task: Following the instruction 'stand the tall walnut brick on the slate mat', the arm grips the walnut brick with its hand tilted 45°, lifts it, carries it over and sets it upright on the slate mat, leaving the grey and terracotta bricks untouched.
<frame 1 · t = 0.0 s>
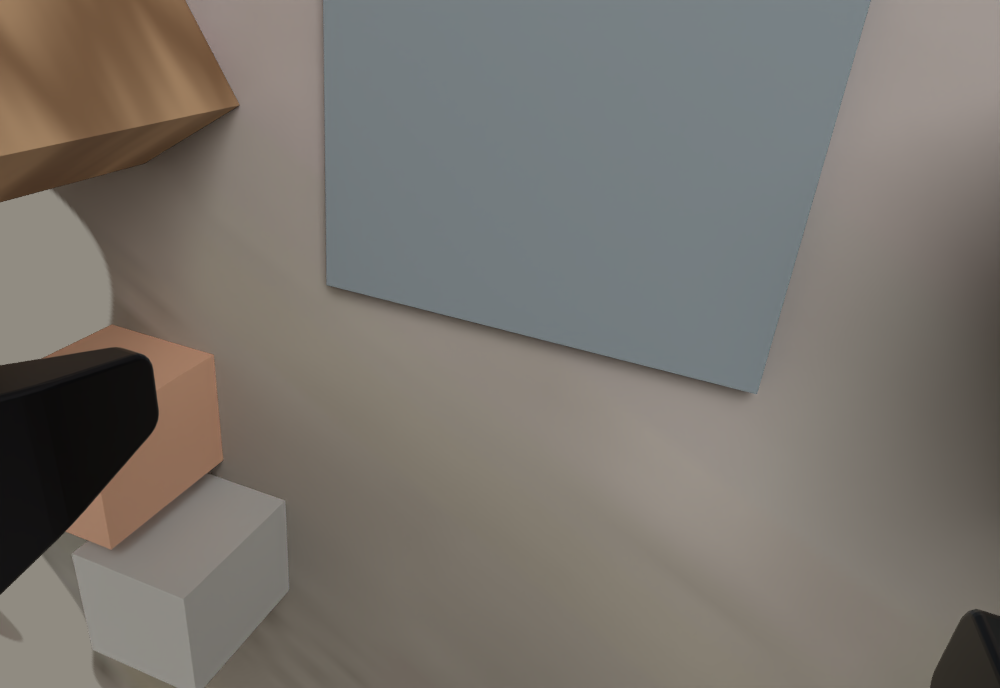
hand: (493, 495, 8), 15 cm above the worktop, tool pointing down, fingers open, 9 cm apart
terracotta brick: (169, 392, 32), on the worktop
grey brick: (239, 528, 33), on the worktop
walnut brick: (150, 64, 25), on the worktop
slate mat: (563, 59, 20), on the worktop
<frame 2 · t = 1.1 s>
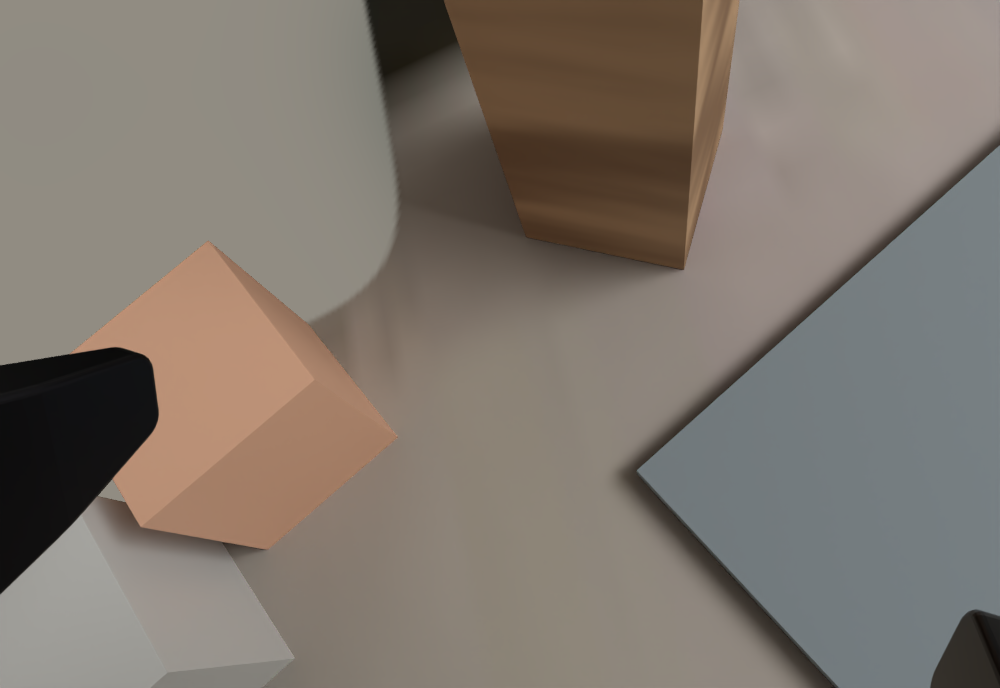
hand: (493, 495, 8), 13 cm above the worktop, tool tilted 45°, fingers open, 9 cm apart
terracotta brick: (289, 432, 24), on the worktop
grey brick: (182, 645, 22), on the worktop
walnut brick: (624, 183, 24), on the worktop
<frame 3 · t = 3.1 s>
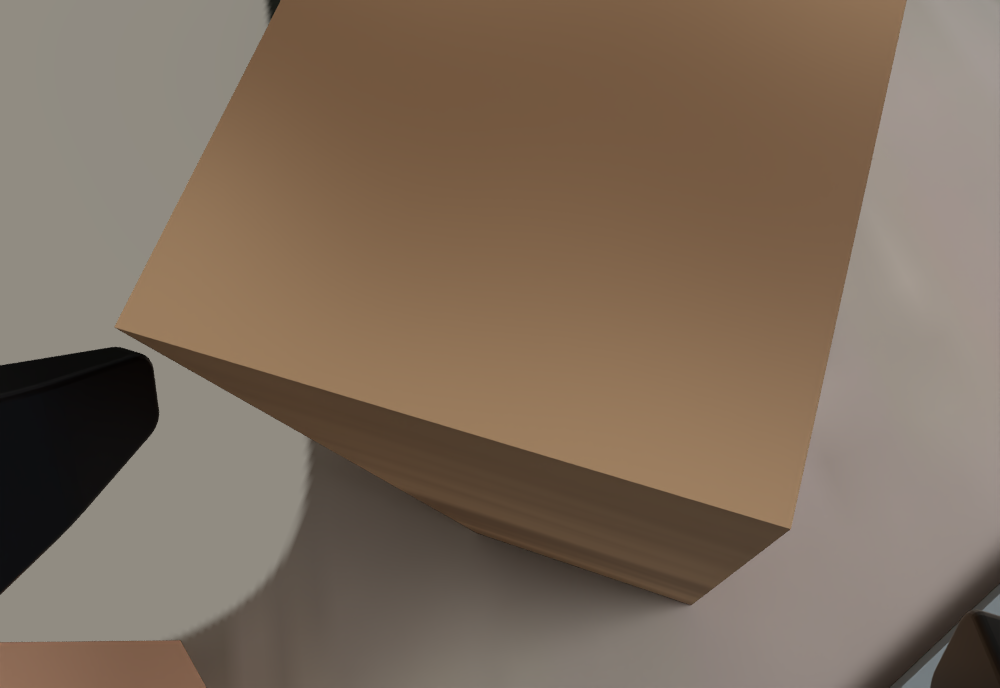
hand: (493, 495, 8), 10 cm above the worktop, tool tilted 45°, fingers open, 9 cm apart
walnut brick: (610, 461, 18), on the worktop
when the fingers open (9 cm above the worktop, at t = 9.2 s): walnut brick drops 1 cm, resting on slate mat.
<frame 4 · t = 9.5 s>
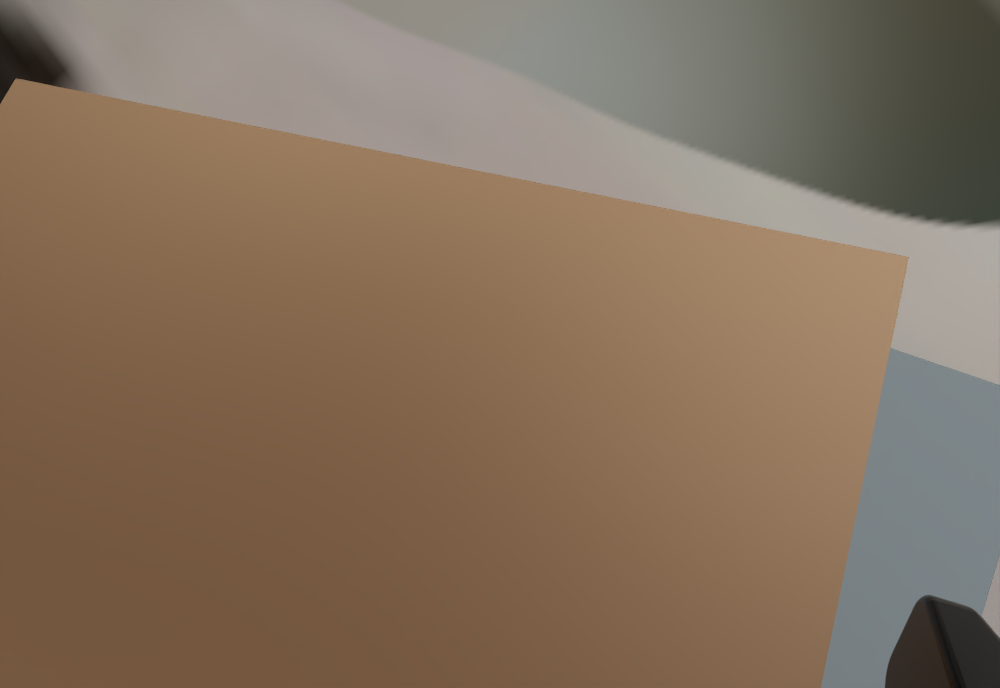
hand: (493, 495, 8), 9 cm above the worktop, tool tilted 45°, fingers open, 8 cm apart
walnut brick: (551, 629, 15), point 1 cm above the worktop, touching slate mat
slate mat: (555, 626, 16), on the worktop
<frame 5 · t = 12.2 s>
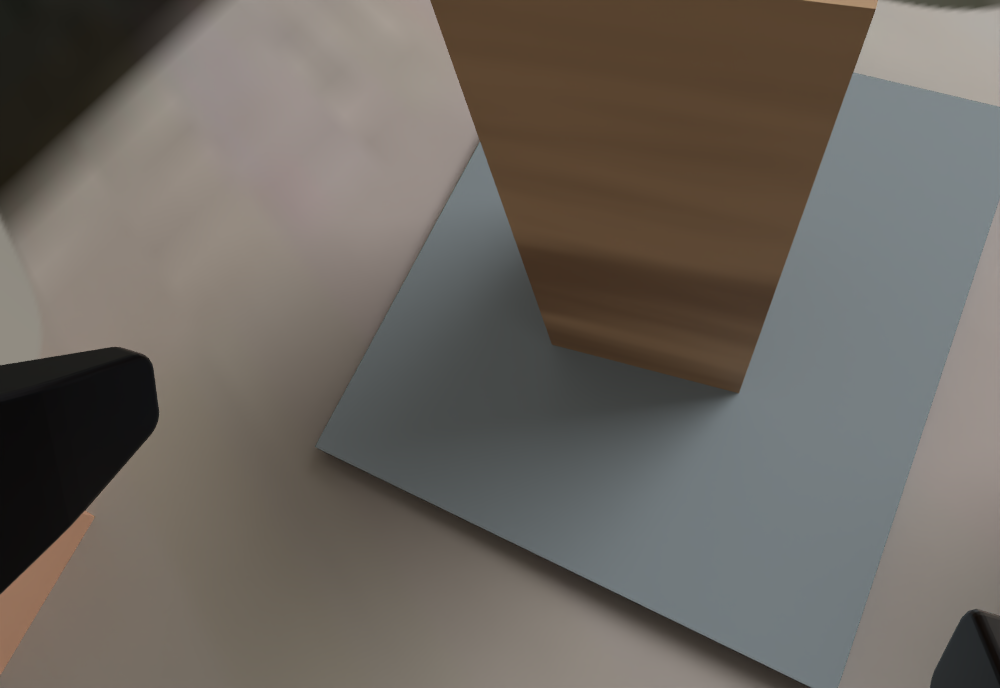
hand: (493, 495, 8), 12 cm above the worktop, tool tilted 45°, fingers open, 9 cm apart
walnut brick: (667, 283, 21), point 1 cm above the worktop, touching slate mat
slate mat: (666, 291, 21), on the worktop
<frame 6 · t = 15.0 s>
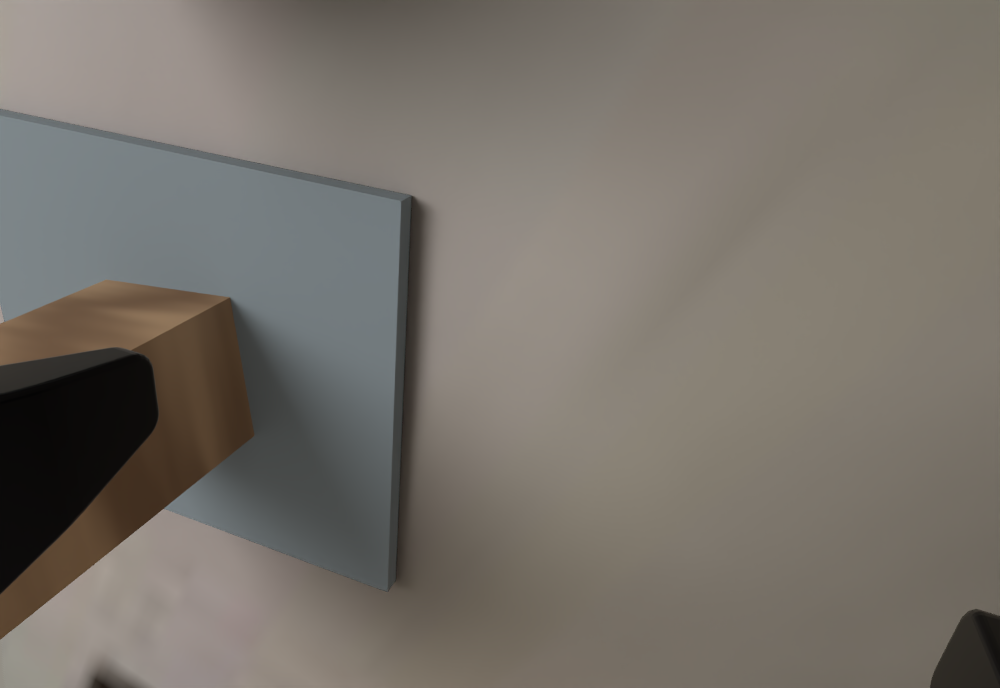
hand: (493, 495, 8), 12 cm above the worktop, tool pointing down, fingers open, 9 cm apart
walnut brick: (181, 358, 26), point 1 cm above the worktop, touching slate mat
slate mat: (192, 351, 26), on the worktop
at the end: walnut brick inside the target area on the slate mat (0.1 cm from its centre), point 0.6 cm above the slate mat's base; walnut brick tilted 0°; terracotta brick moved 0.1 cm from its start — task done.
